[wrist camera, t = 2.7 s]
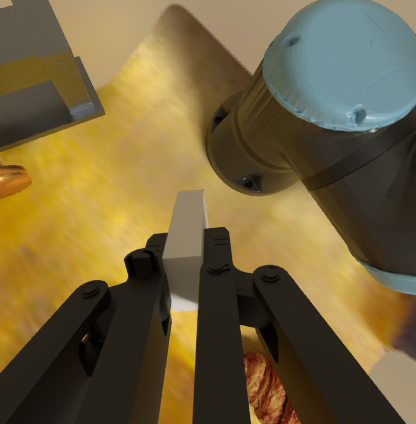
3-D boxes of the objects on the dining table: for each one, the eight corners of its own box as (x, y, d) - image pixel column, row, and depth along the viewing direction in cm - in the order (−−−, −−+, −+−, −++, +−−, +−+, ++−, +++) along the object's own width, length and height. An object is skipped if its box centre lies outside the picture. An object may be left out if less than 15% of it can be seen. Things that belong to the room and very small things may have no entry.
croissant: (339, 407, 47) (386, 409, 41) (329, 486, 41) (382, 503, 35) (233, 329, 45) (266, 320, 39) (204, 401, 39) (237, 403, 32)
